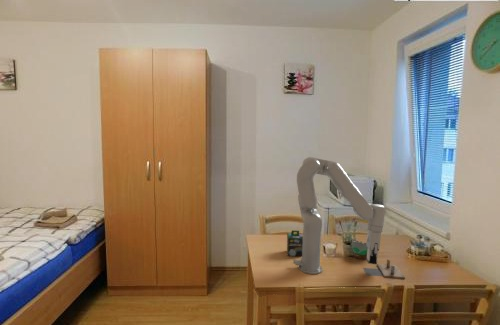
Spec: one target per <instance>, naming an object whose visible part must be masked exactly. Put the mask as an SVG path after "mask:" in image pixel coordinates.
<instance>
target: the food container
mask: <svg viewBox="0 0 500 325" xmlns="http://www.w3.org/2000/svg"><path fill="white" fill-rule="evenodd" d="M351 240H352V239H351ZM353 240H354V239H353ZM353 240H352V243H351V242H350V244H351V247H352V248H353V249H352V248H351V249H352V252H351V253H352V257H353V258H354V259H357V260H361V261H362V260H363V261H364V260H366V259H367V249H368V247H367V246H366V242H364V241H361V240H360V241H359V240H355V241H353ZM366 261H367V260H366Z"/></svg>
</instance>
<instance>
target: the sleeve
mask: <svg viewBox="0 0 500 325" xmlns="http://www.w3.org/2000/svg"><path fill="white" fill-rule="evenodd" d="M373 250H374V249H373ZM373 252H374V251H373ZM370 255H371V250H369V249H367V259H366V262H367V264H371V265H373V264H372V263H370ZM378 257H379V253H378V254H377V260H376V264H375V265H377V264H378Z"/></svg>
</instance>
